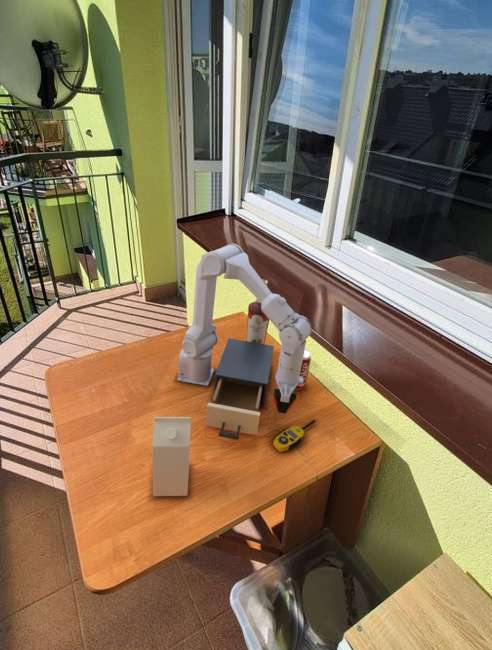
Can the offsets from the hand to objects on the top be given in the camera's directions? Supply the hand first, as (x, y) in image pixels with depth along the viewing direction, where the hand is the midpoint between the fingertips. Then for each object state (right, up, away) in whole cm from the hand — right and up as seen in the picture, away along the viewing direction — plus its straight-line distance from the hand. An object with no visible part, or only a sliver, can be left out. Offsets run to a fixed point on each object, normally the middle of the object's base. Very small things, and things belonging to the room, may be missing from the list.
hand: (282, 404), depth 100 cm
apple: (0, -1, 0) cm, 1 cm away
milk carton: (-26, -12, -17) cm, 33 cm away
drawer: (-12, -3, +3) cm, 13 cm away
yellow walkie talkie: (+3, -8, -1) cm, 9 cm away
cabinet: (-10, +2, +15) cm, 19 cm away
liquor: (-7, +8, +28) cm, 30 cm away
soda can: (+6, +1, +17) cm, 18 cm away
